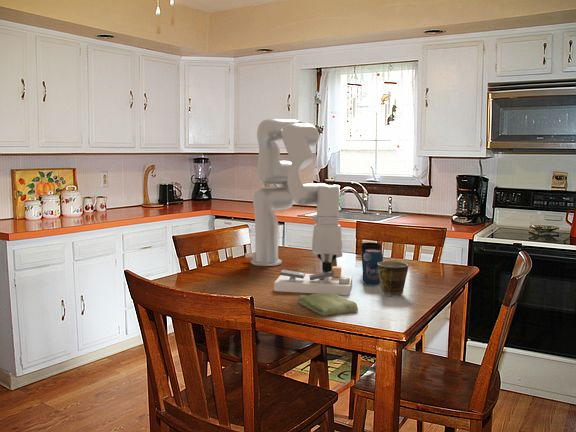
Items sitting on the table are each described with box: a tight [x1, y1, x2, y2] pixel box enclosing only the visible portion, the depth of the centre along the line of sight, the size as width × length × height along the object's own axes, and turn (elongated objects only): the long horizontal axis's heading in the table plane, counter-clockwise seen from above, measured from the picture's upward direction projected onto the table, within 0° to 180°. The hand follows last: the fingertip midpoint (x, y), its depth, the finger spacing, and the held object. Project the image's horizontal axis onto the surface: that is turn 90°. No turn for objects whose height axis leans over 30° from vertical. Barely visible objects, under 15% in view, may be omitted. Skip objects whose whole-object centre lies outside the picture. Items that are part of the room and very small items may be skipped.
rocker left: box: [279, 269, 306, 279], centre depth 186 cm, size 8×4×1 cm, turn 80°
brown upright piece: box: [321, 254, 338, 273], centre depth 207 cm, size 6×6×11 cm
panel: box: [273, 273, 353, 296], centre depth 189 cm, size 25×15×4 cm, turn 80°
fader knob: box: [332, 265, 342, 277], centre depth 192 cm, size 3×3×3 cm
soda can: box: [362, 249, 384, 287], centre depth 195 cm, size 7×7×12 cm
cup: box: [360, 242, 382, 269], centre depth 208 cm, size 8×8×12 cm
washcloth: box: [298, 293, 359, 317], centre depth 166 cm, size 13×18×3 cm
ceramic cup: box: [378, 260, 409, 297], centre depth 180 cm, size 13×10×10 cm
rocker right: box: [310, 271, 334, 280], centre depth 184 cm, size 8×4×1 cm, turn 80°
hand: (326, 272), depth 192 cm, fingers closed
